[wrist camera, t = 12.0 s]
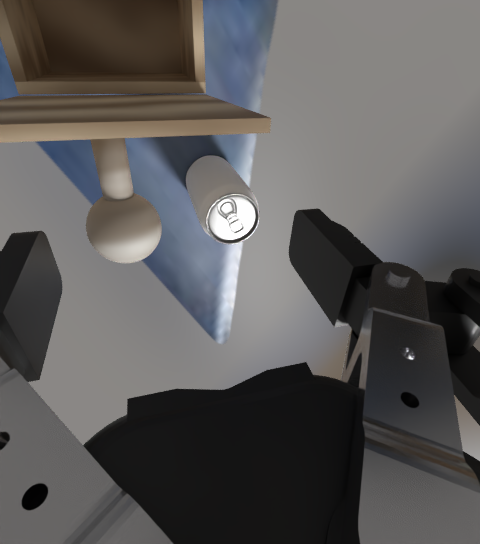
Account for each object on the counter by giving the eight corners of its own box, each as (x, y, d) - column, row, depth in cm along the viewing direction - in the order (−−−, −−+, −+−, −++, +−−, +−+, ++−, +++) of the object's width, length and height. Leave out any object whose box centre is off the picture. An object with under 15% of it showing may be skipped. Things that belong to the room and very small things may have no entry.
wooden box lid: (-127, 129, 11) (-34, 297, 14) (273, 118, 14) (265, 258, 17) (19, 95, 24) (48, 187, 28) (205, 94, 27) (209, 176, 31)
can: (221, 144, 40) (249, 176, 30) (241, 188, 44) (272, 229, 34) (175, 170, 40) (189, 210, 30) (200, 211, 44) (219, 258, 34)
